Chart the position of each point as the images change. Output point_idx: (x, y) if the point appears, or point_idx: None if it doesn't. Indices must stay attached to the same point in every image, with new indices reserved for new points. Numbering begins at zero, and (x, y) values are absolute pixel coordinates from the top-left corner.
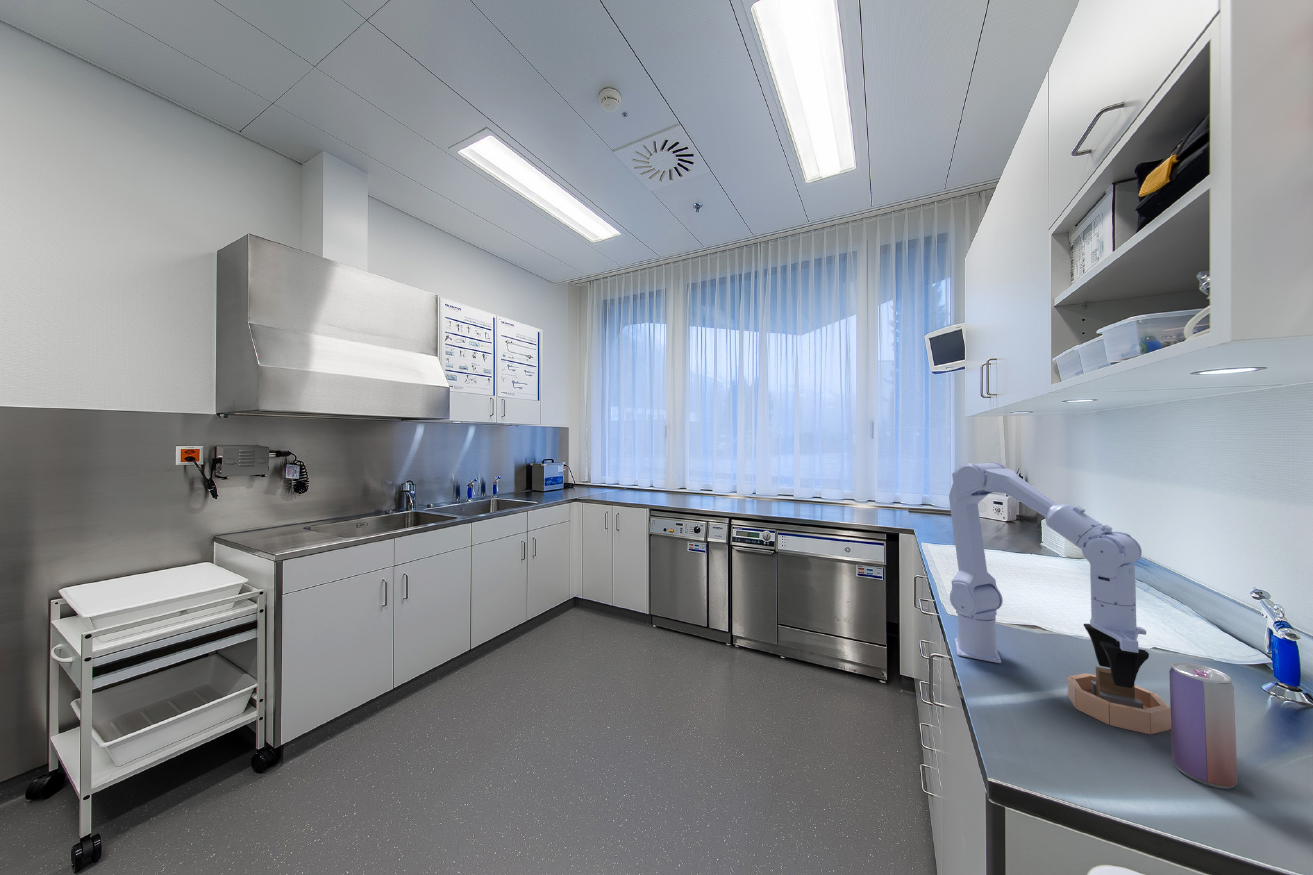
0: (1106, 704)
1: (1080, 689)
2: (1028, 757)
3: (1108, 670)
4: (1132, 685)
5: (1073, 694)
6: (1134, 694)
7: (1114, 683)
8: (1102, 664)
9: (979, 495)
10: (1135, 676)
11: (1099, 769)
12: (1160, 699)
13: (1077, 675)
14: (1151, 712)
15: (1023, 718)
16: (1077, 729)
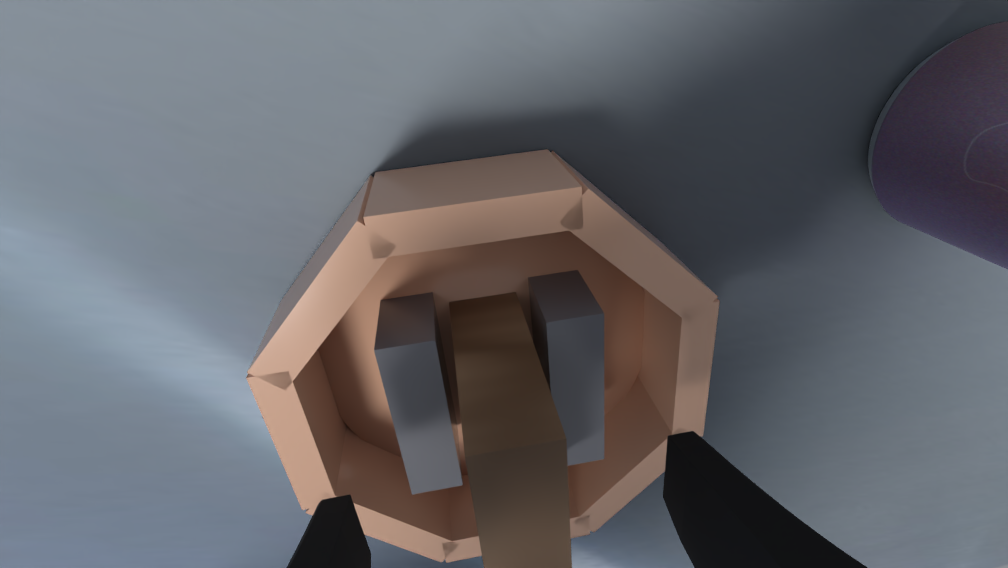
0: None
1: (582, 520)
2: (953, 523)
3: (521, 546)
4: (708, 445)
5: None
6: (535, 352)
7: (664, 496)
8: (366, 559)
9: None
10: (773, 500)
11: (976, 404)
12: (460, 214)
13: (385, 536)
14: (705, 291)
15: None
16: (745, 447)
